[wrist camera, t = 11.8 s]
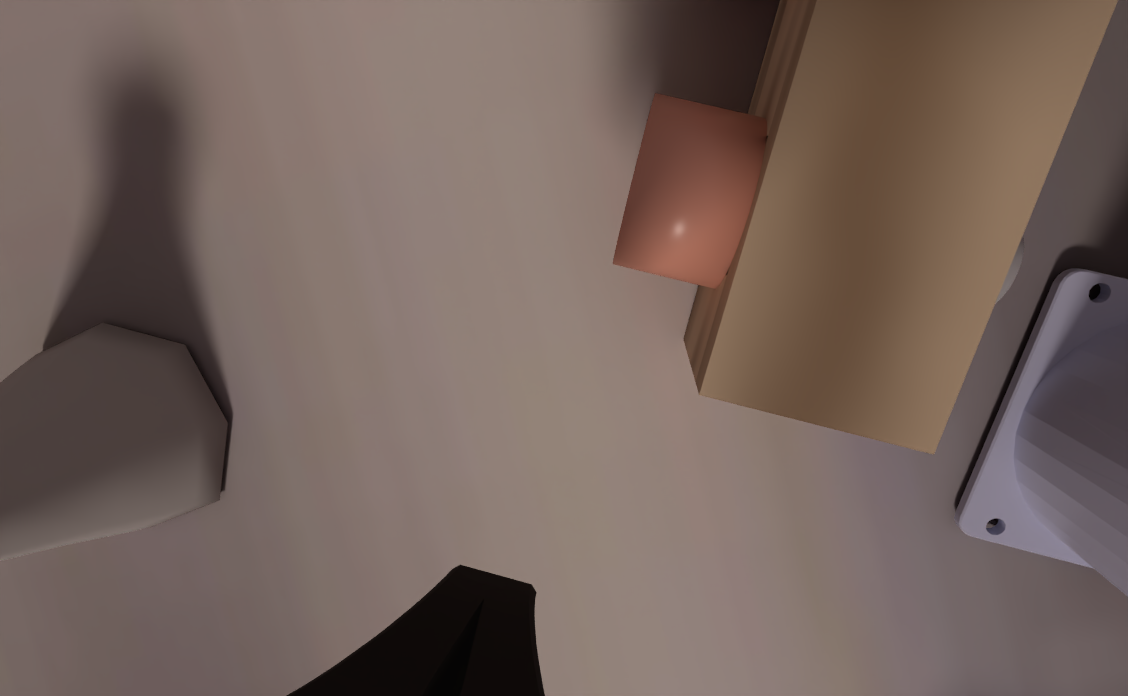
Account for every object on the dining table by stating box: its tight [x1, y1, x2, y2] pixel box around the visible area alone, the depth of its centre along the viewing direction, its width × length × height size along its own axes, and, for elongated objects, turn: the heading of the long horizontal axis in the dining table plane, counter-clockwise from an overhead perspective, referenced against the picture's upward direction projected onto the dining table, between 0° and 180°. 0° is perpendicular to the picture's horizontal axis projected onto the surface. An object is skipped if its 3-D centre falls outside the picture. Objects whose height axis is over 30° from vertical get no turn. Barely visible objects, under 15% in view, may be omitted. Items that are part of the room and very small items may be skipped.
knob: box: [613, 93, 1024, 302], centre depth 15 cm, size 8×4×4 cm, turn 77°
